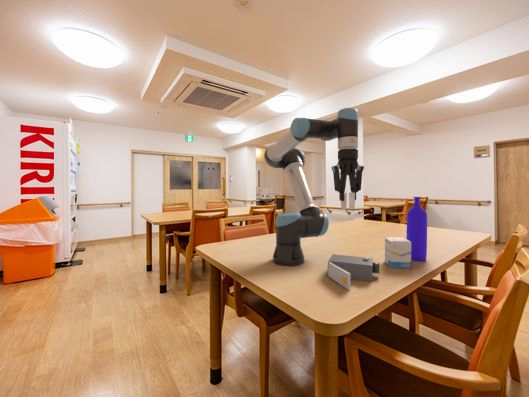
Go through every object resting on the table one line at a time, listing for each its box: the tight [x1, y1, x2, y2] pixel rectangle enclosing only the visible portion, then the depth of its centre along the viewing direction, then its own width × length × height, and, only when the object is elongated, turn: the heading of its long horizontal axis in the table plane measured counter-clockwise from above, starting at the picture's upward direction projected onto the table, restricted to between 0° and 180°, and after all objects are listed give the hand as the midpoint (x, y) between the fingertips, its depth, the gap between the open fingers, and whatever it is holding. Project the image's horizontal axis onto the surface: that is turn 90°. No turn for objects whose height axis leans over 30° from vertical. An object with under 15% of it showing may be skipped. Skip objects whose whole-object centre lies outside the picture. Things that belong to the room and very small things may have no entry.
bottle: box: [406, 196, 428, 262], centre depth 113 cm, size 8×8×30 cm
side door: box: [327, 261, 352, 291], centre depth 87 cm, size 14×2×6 cm, turn 15°
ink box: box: [384, 236, 412, 269], centre depth 106 cm, size 9×8×12 cm
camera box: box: [327, 253, 380, 282], centre depth 95 cm, size 18×10×7 cm, turn 65°
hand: (347, 208), depth 94 cm, fingers open, 3 cm apart
